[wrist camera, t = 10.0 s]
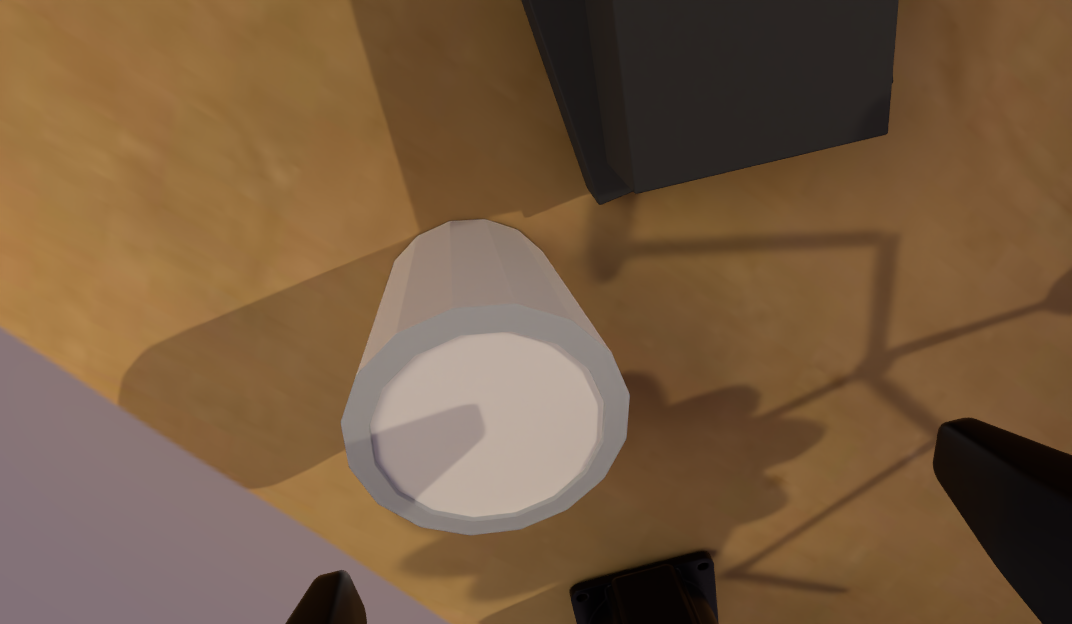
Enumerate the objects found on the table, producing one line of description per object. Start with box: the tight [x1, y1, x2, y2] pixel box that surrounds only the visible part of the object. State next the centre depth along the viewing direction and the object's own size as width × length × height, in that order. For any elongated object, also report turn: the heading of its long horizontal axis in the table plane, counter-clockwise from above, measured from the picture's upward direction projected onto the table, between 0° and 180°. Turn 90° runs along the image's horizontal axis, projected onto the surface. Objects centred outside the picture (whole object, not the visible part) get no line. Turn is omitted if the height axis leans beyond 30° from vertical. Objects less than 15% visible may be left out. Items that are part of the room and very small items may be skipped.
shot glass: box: [341, 219, 630, 535], centre depth 18 cm, size 7×7×7 cm
